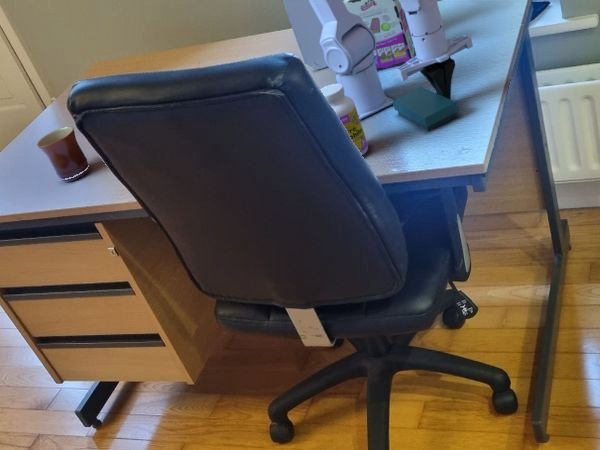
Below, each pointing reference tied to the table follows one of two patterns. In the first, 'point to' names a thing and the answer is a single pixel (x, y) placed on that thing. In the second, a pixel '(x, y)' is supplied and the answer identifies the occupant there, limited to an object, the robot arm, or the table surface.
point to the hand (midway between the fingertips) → (445, 99)
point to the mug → (64, 153)
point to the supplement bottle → (346, 114)
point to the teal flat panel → (425, 108)
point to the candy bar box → (385, 30)
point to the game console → (309, 31)
